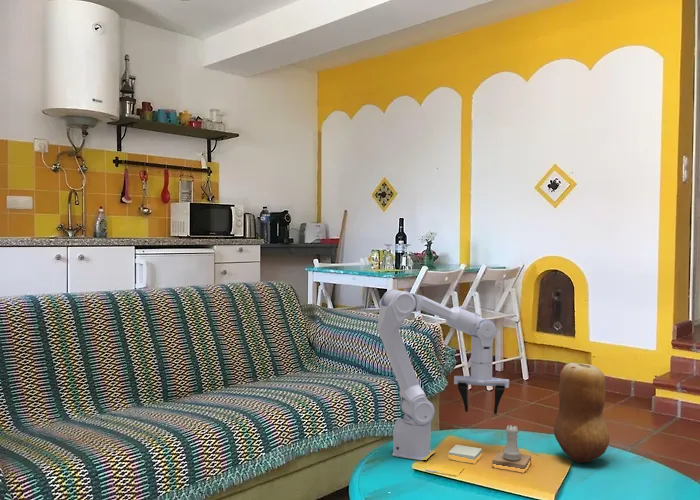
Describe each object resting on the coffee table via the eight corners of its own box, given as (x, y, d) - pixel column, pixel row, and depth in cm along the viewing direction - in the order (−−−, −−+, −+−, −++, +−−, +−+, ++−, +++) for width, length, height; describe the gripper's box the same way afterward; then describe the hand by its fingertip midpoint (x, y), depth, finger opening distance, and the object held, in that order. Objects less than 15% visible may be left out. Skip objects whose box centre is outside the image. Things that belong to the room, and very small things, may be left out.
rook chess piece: (520, 462, 152) (521, 429, 152) (502, 460, 153) (502, 428, 153) (520, 456, 156) (521, 424, 156) (502, 454, 157) (503, 423, 157)
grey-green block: (448, 459, 158) (448, 452, 158) (455, 452, 165) (456, 444, 165) (475, 464, 155) (475, 456, 155) (481, 456, 162) (481, 448, 162)
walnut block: (492, 467, 153) (492, 459, 153) (499, 458, 160) (499, 450, 160) (525, 473, 149) (525, 465, 149) (530, 463, 157) (530, 455, 157)
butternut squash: (620, 466, 156) (621, 367, 156) (577, 471, 151) (579, 370, 151) (582, 449, 169) (583, 358, 169) (541, 454, 164) (543, 360, 164)
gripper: (453, 362, 164) (452, 413, 164) (508, 366, 161) (508, 418, 161) (455, 358, 171) (455, 407, 171) (509, 361, 167) (508, 411, 167)
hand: (480, 412), depth 166 cm, fingers open, 7 cm apart
